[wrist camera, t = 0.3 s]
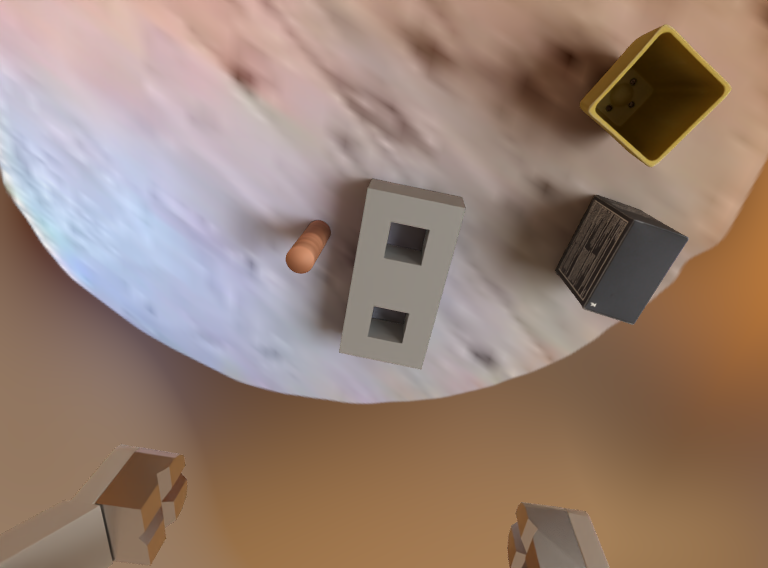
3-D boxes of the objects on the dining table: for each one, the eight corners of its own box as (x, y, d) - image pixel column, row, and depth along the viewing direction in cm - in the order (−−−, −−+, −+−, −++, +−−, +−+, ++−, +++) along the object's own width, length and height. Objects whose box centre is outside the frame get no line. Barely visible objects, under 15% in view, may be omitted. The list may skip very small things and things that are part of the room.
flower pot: (615, 155, 51) (652, 170, 42) (559, 105, 49) (586, 110, 41) (681, 87, 47) (735, 88, 39) (623, 31, 46) (667, 20, 37)
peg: (308, 218, 56) (287, 244, 47) (332, 222, 57) (315, 250, 47) (306, 240, 58) (284, 270, 49) (329, 244, 58) (311, 275, 49)
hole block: (372, 178, 54) (367, 187, 49) (462, 197, 54) (465, 208, 49) (344, 332, 63) (338, 352, 59) (421, 348, 63) (421, 369, 59)
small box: (600, 287, 57) (635, 328, 48) (553, 271, 57) (579, 310, 47) (645, 210, 53) (694, 239, 43) (594, 193, 53) (632, 218, 43)
